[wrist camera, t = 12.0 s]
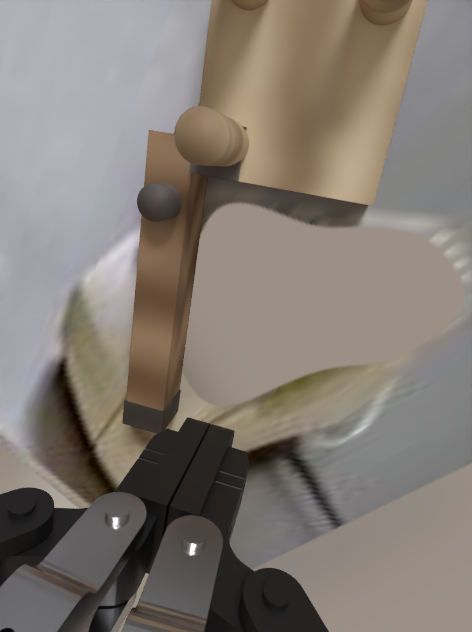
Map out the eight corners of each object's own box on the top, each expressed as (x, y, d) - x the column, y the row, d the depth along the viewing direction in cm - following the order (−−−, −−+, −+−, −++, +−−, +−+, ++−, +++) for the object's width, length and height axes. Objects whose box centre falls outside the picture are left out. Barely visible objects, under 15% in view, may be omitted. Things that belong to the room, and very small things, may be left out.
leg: (168, 134, 30) (134, 127, 25) (213, 142, 29) (187, 136, 24) (142, 400, 37) (112, 434, 32) (177, 410, 36) (152, 446, 32)
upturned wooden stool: (208, 172, 30) (157, 172, 22) (235, -39, 26) (185, -136, 18) (370, 202, 28) (379, 214, 20) (428, -20, 24) (470, -120, 16)
